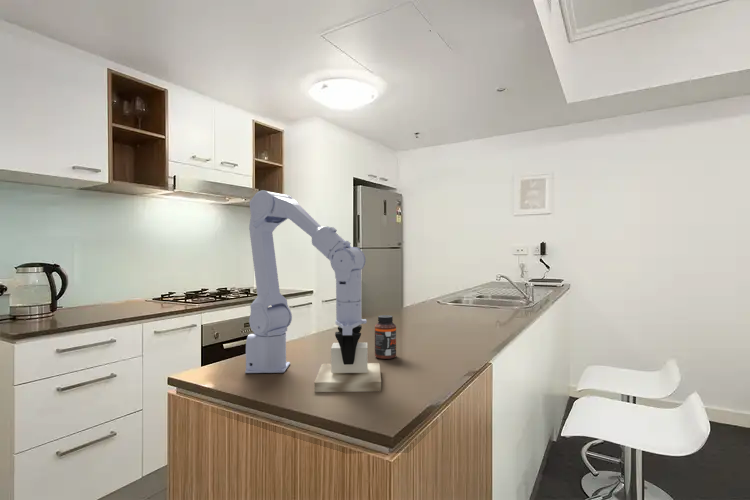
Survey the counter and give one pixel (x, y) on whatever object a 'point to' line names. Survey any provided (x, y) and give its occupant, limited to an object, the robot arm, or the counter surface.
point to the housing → (359, 361)
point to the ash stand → (348, 380)
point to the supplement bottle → (385, 337)
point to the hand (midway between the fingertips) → (349, 360)
